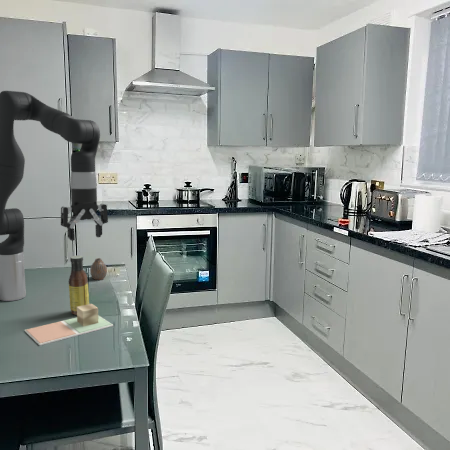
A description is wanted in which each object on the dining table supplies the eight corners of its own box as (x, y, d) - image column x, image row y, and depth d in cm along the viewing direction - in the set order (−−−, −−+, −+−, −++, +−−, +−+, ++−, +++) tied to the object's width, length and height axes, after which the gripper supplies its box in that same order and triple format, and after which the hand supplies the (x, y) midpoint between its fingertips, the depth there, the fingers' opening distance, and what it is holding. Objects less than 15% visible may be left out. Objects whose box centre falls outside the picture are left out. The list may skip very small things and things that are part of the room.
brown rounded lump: (90, 276, 195) (89, 257, 193) (106, 275, 197) (106, 256, 195) (90, 281, 188) (90, 261, 187) (107, 280, 190) (107, 260, 189)
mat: (24, 331, 137) (24, 329, 137) (95, 314, 152) (95, 312, 152) (39, 345, 128) (39, 343, 127) (113, 326, 143) (113, 324, 143)
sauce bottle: (82, 307, 158) (81, 253, 154) (93, 312, 154) (91, 256, 150) (66, 312, 153) (63, 256, 149) (76, 317, 149) (74, 259, 145)
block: (83, 326, 140) (82, 311, 139) (77, 321, 144) (76, 306, 143) (98, 322, 143) (98, 308, 143) (92, 318, 147) (91, 303, 146)
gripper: (100, 184, 144) (101, 234, 146) (55, 186, 134) (58, 239, 137) (111, 186, 138) (112, 238, 141) (65, 188, 129) (67, 243, 132)
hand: (85, 238), depth 139 cm, fingers open, 8 cm apart
